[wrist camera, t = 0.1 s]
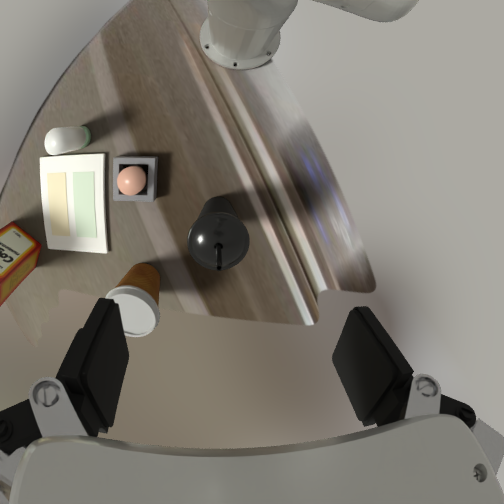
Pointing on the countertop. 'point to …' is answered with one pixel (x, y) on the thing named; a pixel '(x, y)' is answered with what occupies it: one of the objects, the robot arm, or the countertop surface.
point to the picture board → (74, 202)
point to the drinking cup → (218, 236)
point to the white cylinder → (67, 139)
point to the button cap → (132, 180)
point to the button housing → (152, 177)
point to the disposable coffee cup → (138, 300)
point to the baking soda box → (15, 258)
